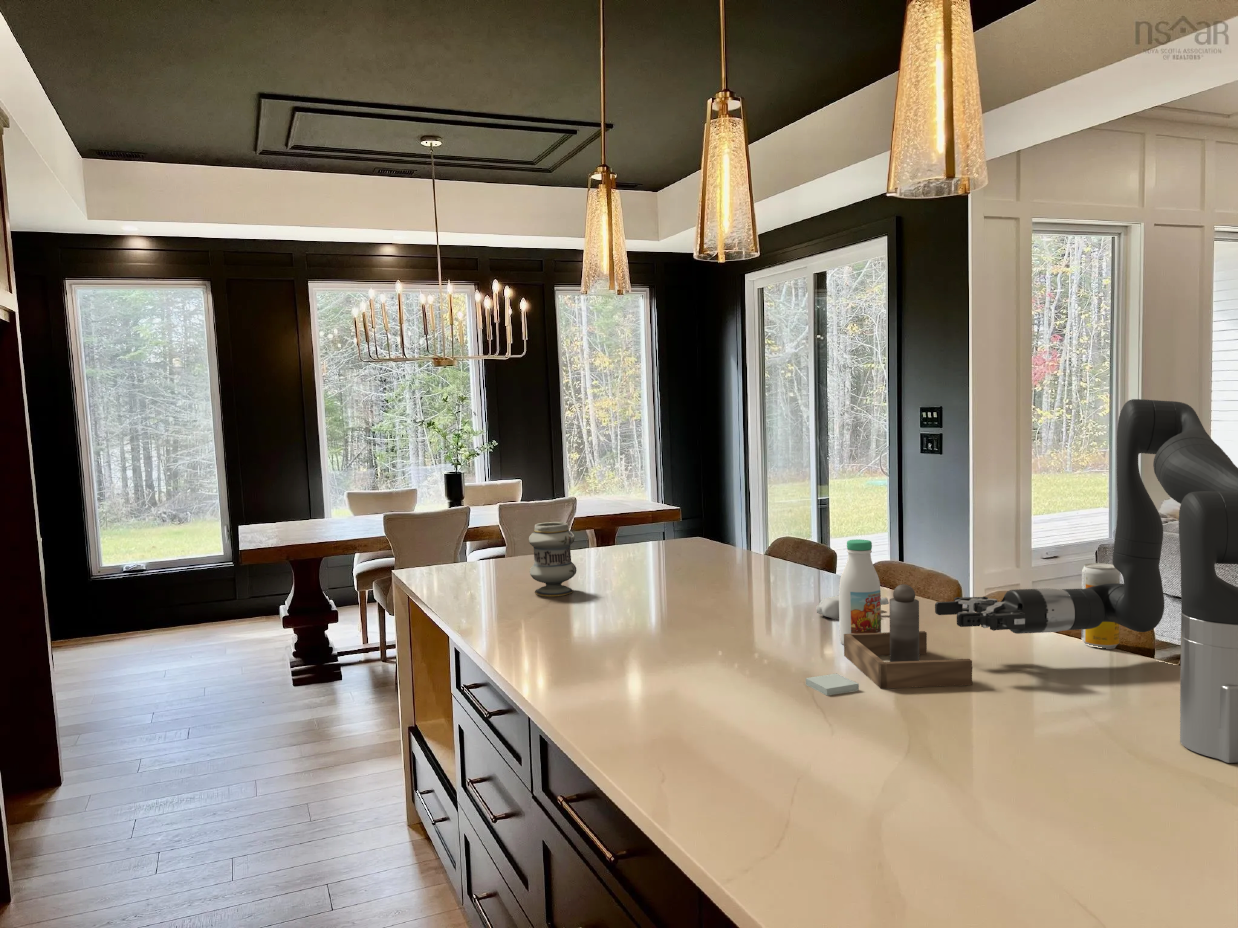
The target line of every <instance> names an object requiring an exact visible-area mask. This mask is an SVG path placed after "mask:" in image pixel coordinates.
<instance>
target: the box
mask: <svg viewBox="0 0 1238 928" xmlns="http://www.w3.org/2000/svg"><path fill="white" fill-rule="evenodd" d="M927 636H928V633H927V632H926V631H925V630H919V655H927V653H928V652H927V651H928V649H927V647H928V645H927V644H928V642H927V640H928V637H927ZM843 655H844V657H845V658H846V659H847V660H849V662H851V663H852V664H853V665H854V666H855V667H856V668H857V669H859V671H861V672H862V673H863V674H864V675H865V676H866V677H868V679H869V680H871V681H872V682H873V683H874V684H875V685H876V686H877V687H878V688H879V689H900V688H901V689H902V688H903V689H904V688H905V689H906V688H927V687H930V688H932V687H951V686H953V687H954V686H956V687H957V686H973V660H972V659H970V658H960V659H958V658H957V659H956V658H955V659H934V660H933V659H931V660H919V661H898V662H890V661H885V660H883V659H881V658H880V656H881V657H884V656H885V657H887V656H890V631H889V632H881V633H858V634H844V645H843Z"/></svg>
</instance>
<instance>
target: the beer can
mask: <svg viewBox="0 0 1238 928" xmlns="http://www.w3.org/2000/svg"><path fill="white" fill-rule="evenodd" d="M1120 575H1121V573H1120V572H1119V571H1118V570H1117V569H1116V568H1115V567H1114V566H1113V564H1110V563H1101V562H1100V563H1098V562H1090V563H1088V562H1087V563H1085V564H1084V566H1083V568H1082V569H1081V589H1086V588H1089V587H1093V586H1097V585H1102V584H1110V583H1118V584H1121V582H1120ZM1081 641H1082V642H1083V643H1084V645H1085V644H1089V645H1093V646H1098V647H1102V648H1106V649H1105V650H1112V649H1115V648H1116V647H1117V646H1118V645H1119V644H1120V625H1119V624H1117V623H1115V622H1102V623H1101V624H1100V625H1099V626H1097V627H1095V628H1092V629H1083V630H1081Z"/></svg>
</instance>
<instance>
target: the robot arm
mask: <svg viewBox="0 0 1238 928" xmlns="http://www.w3.org/2000/svg"><path fill="white" fill-rule="evenodd" d="M1140 454H1148V455H1154V458H1153V466H1152V467H1153V472H1154V475H1155V477H1156V479H1157V481H1158V482H1159V484H1160V485H1161V487H1162V488H1163V490H1164V492H1166V494H1167V495H1168V496H1169V497H1170V498H1171V499H1172V500H1173V501H1175V502H1177V503H1178V504H1180V505H1179V510H1178V538H1179V552H1180V553H1179V556H1180V557H1179V558H1180V593H1181V605H1180V606H1181V607H1180V608H1181V609H1180V610H1181V612H1180V613H1181V614H1180V627H1181V628H1180V669H1179V670H1180V683H1179V685H1180V687H1179V688H1180V689H1179V691H1180V692H1179V695H1180V696H1179V715H1180V716H1179V742H1180V743H1181V745H1182V746H1183V747H1185V748H1186V749H1188V750H1189V751H1192V752H1193V753H1197V754H1199V755H1202V756H1206V757H1209V758H1213V759H1217V760H1220V761H1223V762H1224V763H1229V764H1230V763H1231V764H1233V763H1238V586H1237V585H1234V584H1232V583H1229V582H1228V581H1225V580H1223V579H1222V578H1221V577H1219V576H1218V574H1217V572H1216V567H1215V566H1216V565H1217V564H1219V565H1238V466H1237V465H1236V464H1234V462H1233V461H1232V459H1231V458H1230V457H1229V455H1227V454H1226V452H1225V451H1224V450H1223V448H1221V447H1220V446H1219V445H1218V444H1217V443H1216V442H1215V441H1214V440H1213V439H1212V437H1211V436H1210V435H1209V434H1208V432H1207V431H1206V430H1205V428H1204V425H1203V423H1202V422H1201V420H1200V417H1199V416H1198V414H1197V412H1196V410H1195V409H1194V408H1193V407H1192V406H1191V405H1189V404H1188V403H1185V402H1182V401H1173V400H1171V401H1170V400H1158V399H1157V400H1155V399H1142V398H1141V399H1139V398H1137V399H1136V398H1131V399H1129V400H1127V401H1126V402H1125V403H1124V404H1123V406H1122V408H1121V411H1120V413H1119V416H1118V421H1117V428H1116V498H1117V499H1116V503H1117V505H1116V506H1117V507H1116V508H1117V509H1116V515H1117V516H1116V525H1115V534H1114V543H1113V551H1112V559H1111V560H1112V565H1113V566H1114V567H1115V568H1116V569H1117V570H1118V571H1119V573H1120V575H1121V576H1122V579H1123V583H1119V584H1118V583H1110V584H1102V585H1097V586H1093V587H1089V588H1086V589H1082V588H1059V589H1057V588H1048V587H1047V588H1046V587H1045V588H1023V589H1021V588H1019V589H1017V588H1016V589H1009V590H1007V592H1005V593H1004V595H1003V598H1002V599H1001V601H998V599H996V598H989V597H987V596H970V597H969V596H964V597H961V596H960V597H959V596H956V597H953V601H951V600H950V601H936V603H935V604H934V613H935V614H936V615H938V616H948V615H950V616H951V615H956V625H957V626H958V627H961V628H966V627H968V628H969V627H970V628H971V627H981V628H983V629H987V628H989V630H991V631H993V632H994V631H1002V630H1003V631H1005V630H1006V631H1007V630H1009V631H1010V632H1011V633H1014V634H1020V635H1021V634H1040V633H1041V634H1042V633H1058V632H1062V631H1079V630H1080V631H1082V630H1083V629H1092V628H1095V627H1097V626H1099V625H1100V624H1101V623H1102V622H1115V623H1117V624H1119V626H1121V627H1125V628H1127V629H1128V630H1131V631H1133V632H1137V633H1147V632H1150V631H1153V630H1154V629H1155V628H1156V627H1157V626H1158V625H1159V624H1160V623H1161V621H1162V619H1163V615H1164V611H1165V597H1164V596H1165V595H1164V594H1165V593H1164V588H1163V581H1162V574H1161V572H1160V561H1161V557H1162V556H1161V555H1162V549H1163V540H1164V525H1163V521H1162V517H1161V514H1160V513H1159V510H1158V508H1157V507H1156V504H1155V503H1154V502H1153V499H1152V498H1151V496H1150V494H1149V492H1148V490H1147V488H1146V486H1145V484H1144V481H1143V480H1142V477H1141V474H1140V467H1139V455H1140ZM1215 564H1216V565H1215ZM963 605H966V607H963Z"/></svg>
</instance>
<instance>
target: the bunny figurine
mask: <svg viewBox="0 0 1238 928" xmlns="http://www.w3.org/2000/svg"><path fill="white" fill-rule="evenodd" d="M883 605H890V601H889V600H888V598H887V597H881V606H883ZM815 608H816V614H819V615H822V616H824V617H827V618H828V619H829V618H830V619H832V620H839V594H838V595H836V596H830V597H825V598H822V600H821V601H820V602H819V604H818V605H816V606H815Z"/></svg>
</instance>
